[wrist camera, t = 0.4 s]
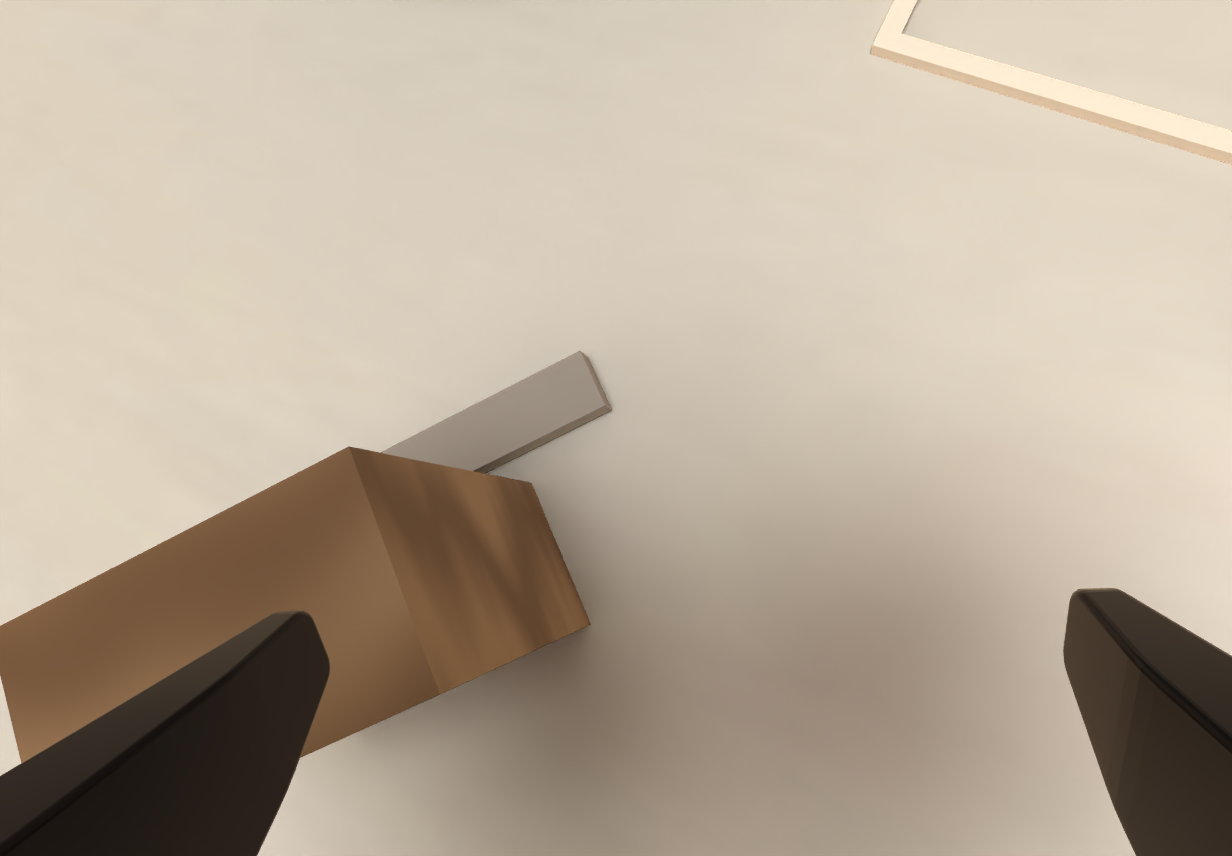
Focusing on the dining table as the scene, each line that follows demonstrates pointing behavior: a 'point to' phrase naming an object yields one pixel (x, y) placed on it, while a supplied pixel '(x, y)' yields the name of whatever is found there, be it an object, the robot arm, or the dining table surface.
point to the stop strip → (512, 419)
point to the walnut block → (310, 596)
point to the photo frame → (1047, 90)
